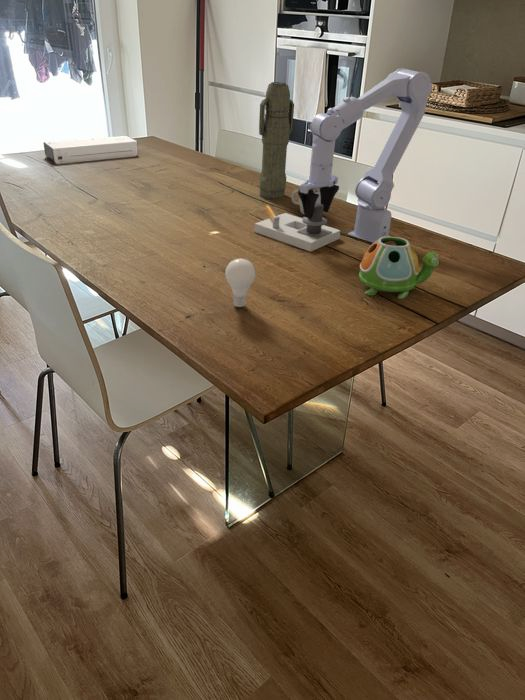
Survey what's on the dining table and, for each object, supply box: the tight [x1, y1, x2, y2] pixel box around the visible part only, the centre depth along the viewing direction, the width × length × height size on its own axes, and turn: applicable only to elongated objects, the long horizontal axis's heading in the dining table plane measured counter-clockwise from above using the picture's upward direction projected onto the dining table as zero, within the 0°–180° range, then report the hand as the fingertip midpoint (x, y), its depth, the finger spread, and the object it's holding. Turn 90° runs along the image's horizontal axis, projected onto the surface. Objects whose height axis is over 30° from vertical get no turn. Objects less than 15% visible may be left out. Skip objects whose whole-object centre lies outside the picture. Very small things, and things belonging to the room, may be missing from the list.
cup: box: [291, 188, 321, 216], centre depth 176 cm, size 11×8×8 cm
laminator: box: [43, 135, 139, 165], centre depth 223 cm, size 34×12×6 cm, turn 124°
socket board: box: [254, 212, 341, 252], centre depth 160 cm, size 20×14×3 cm
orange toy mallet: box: [265, 204, 280, 228], centre depth 162 cm, size 2×13×3 cm, turn 12°
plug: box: [302, 203, 328, 234], centre depth 154 cm, size 7×7×7 cm
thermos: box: [258, 81, 295, 200], centre depth 183 cm, size 9×12×35 cm
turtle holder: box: [358, 236, 440, 300], centre depth 131 cm, size 12×18×12 cm
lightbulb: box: [224, 257, 256, 309], centre depth 119 cm, size 6×6×11 cm
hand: (316, 214), depth 154 cm, fingers open, 7 cm apart
